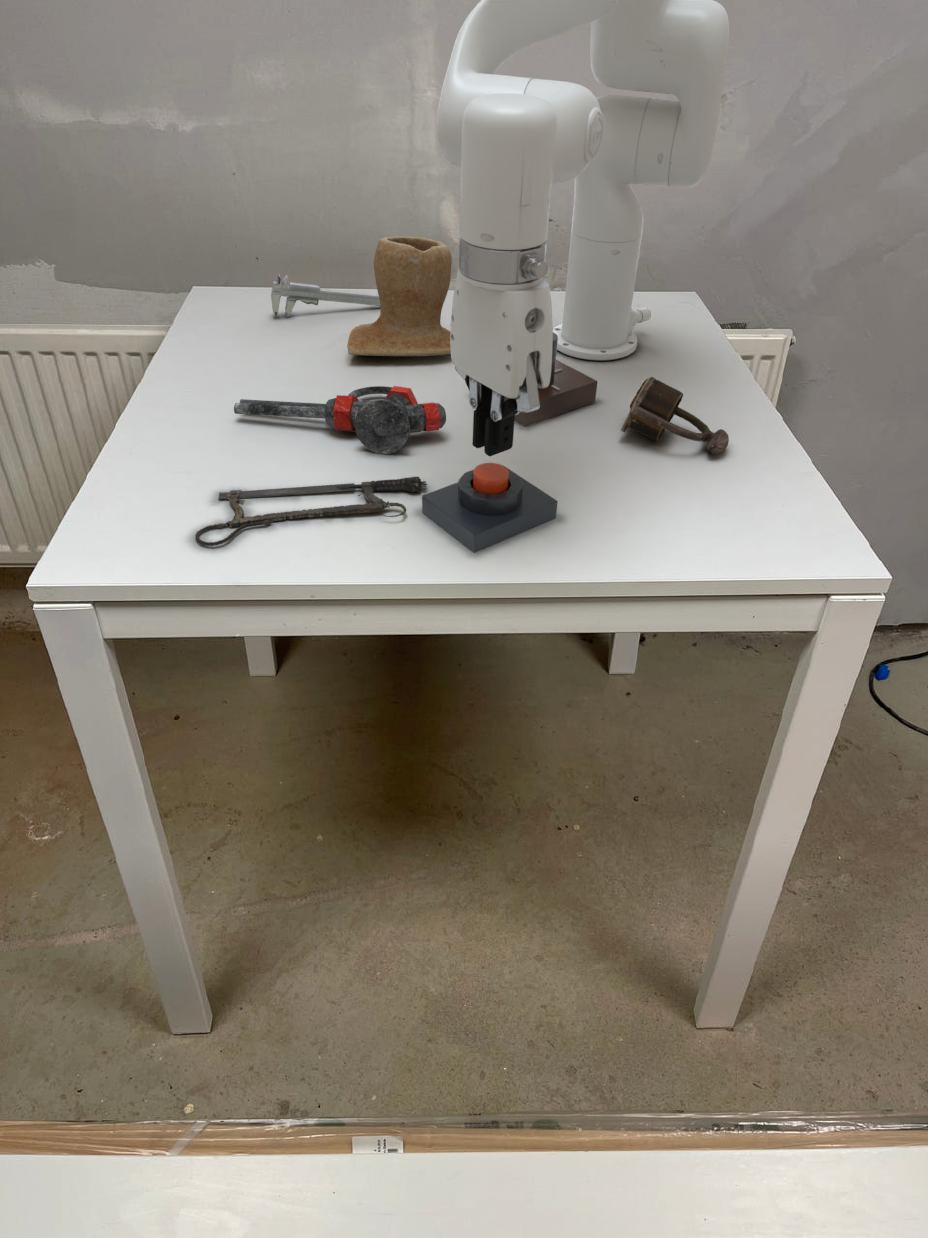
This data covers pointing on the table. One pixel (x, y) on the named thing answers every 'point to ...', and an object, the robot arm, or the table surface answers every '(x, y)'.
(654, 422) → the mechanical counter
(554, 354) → the dial
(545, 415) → the dial panel
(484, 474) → the button
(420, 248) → the stone cup
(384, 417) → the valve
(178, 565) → the table surface
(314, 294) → the caliper
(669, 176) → the robot arm
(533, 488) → the button box
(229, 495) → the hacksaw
